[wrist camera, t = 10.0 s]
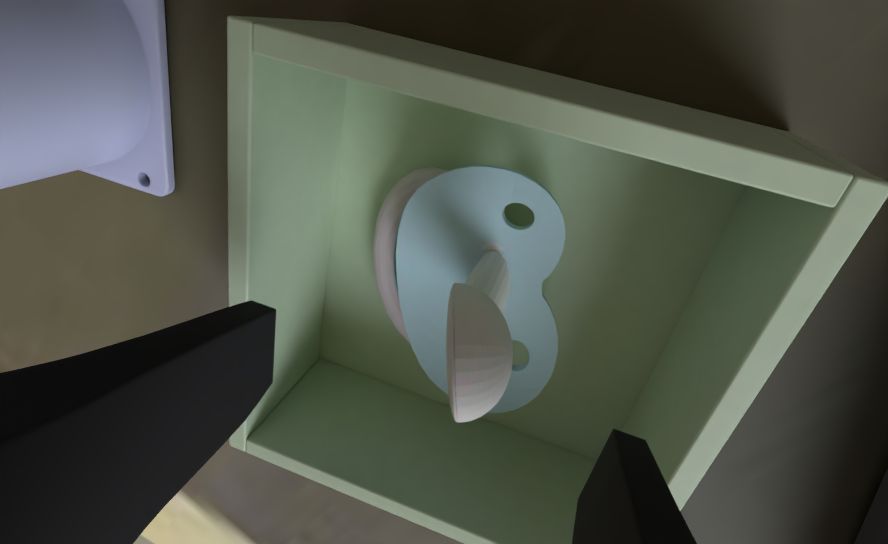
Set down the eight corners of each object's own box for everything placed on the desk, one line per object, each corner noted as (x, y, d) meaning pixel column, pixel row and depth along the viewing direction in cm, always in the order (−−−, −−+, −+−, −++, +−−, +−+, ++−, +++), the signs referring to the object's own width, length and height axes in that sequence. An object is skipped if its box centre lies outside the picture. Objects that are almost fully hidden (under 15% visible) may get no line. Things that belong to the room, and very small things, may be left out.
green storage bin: (312, 355, 20) (228, 445, 16) (343, 22, 14) (225, 14, 10) (614, 468, 18) (617, 608, 14) (792, 132, 12) (898, 185, 8)
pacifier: (391, 350, 18) (560, 375, 16) (292, 482, 13) (527, 543, 11) (371, 145, 15) (575, 149, 13) (229, 205, 10) (540, 225, 8)
